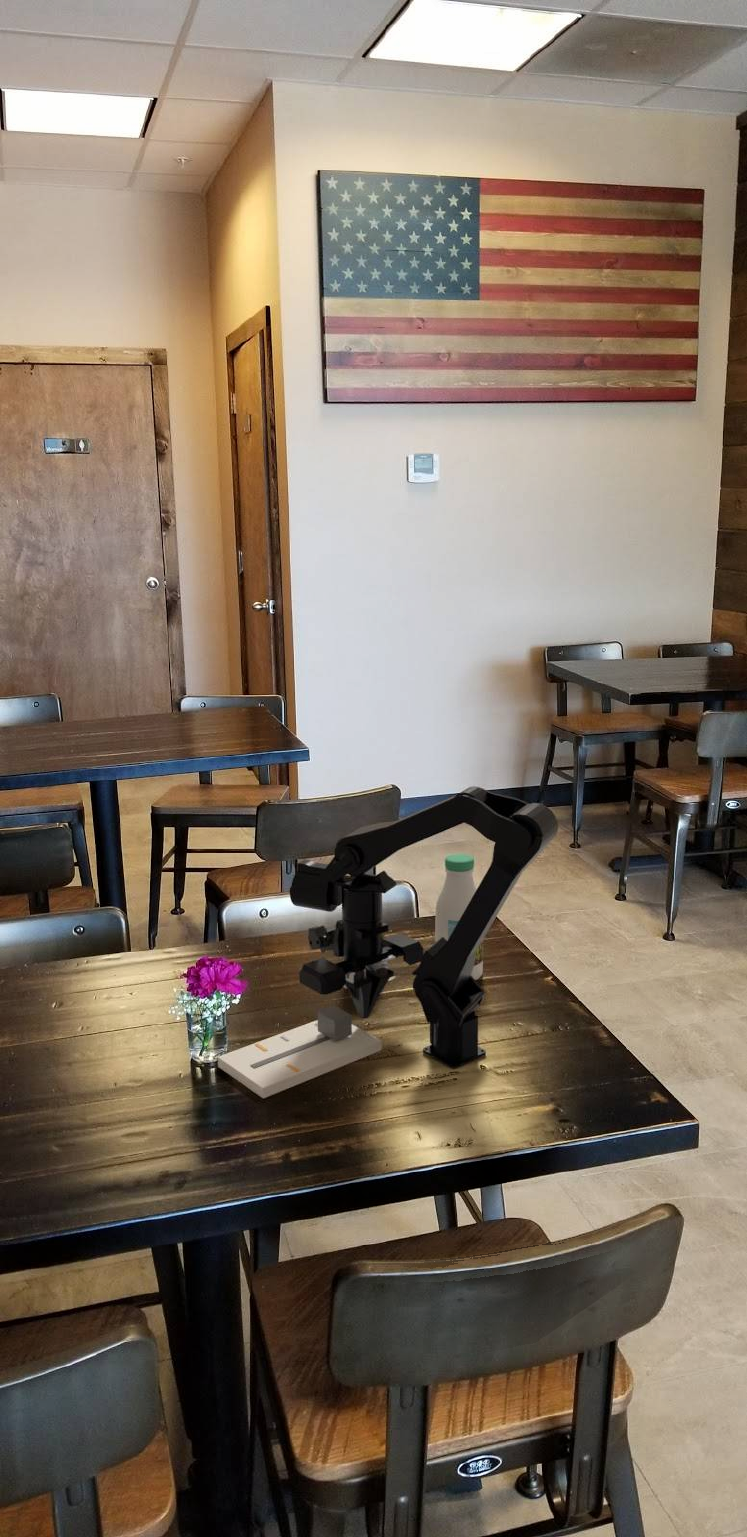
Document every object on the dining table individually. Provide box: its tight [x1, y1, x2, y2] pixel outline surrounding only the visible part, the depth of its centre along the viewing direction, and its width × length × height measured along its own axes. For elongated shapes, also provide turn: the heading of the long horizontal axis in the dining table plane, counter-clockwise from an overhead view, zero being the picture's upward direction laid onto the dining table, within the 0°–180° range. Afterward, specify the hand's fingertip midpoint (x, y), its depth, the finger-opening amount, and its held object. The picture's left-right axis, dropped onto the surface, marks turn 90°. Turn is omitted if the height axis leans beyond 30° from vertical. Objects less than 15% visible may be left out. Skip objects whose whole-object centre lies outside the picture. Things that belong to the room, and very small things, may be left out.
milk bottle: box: [434, 853, 484, 981], centre depth 181 cm, size 8×8×20 cm
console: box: [217, 1019, 382, 1099], centre depth 157 cm, size 11×20×2 cm, turn 129°
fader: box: [316, 1005, 353, 1041], centre depth 160 cm, size 4×3×3 cm
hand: (363, 1017), depth 163 cm, fingers closed
